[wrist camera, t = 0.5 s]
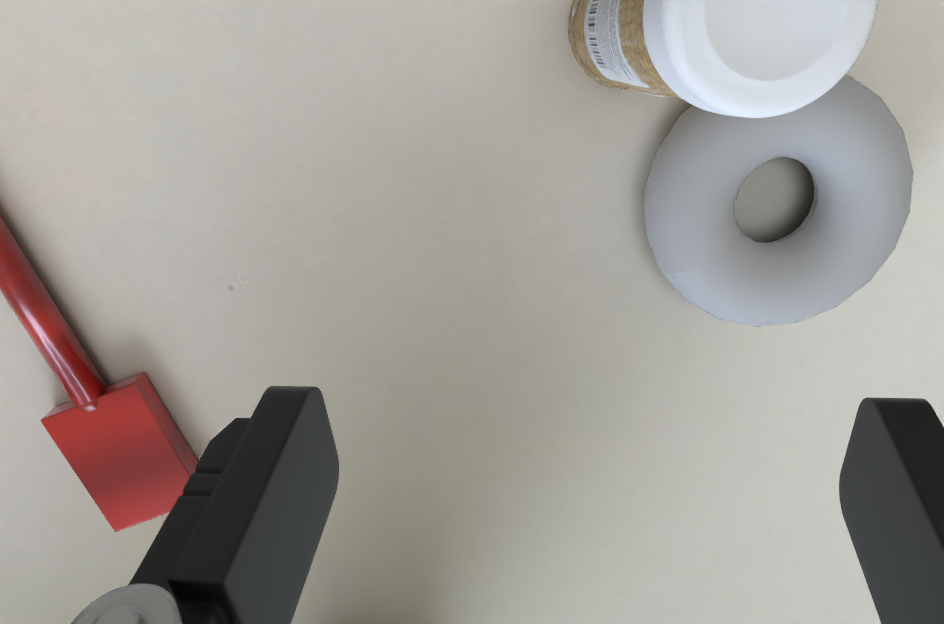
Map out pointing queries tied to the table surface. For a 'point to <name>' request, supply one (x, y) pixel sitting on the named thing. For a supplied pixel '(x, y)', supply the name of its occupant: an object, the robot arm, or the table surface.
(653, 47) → the sprinkles bottle
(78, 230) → the table surface
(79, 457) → the red toy spatula
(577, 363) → the table surface
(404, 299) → the table surface
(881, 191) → the donut
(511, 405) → the table surface
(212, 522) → the robot arm
